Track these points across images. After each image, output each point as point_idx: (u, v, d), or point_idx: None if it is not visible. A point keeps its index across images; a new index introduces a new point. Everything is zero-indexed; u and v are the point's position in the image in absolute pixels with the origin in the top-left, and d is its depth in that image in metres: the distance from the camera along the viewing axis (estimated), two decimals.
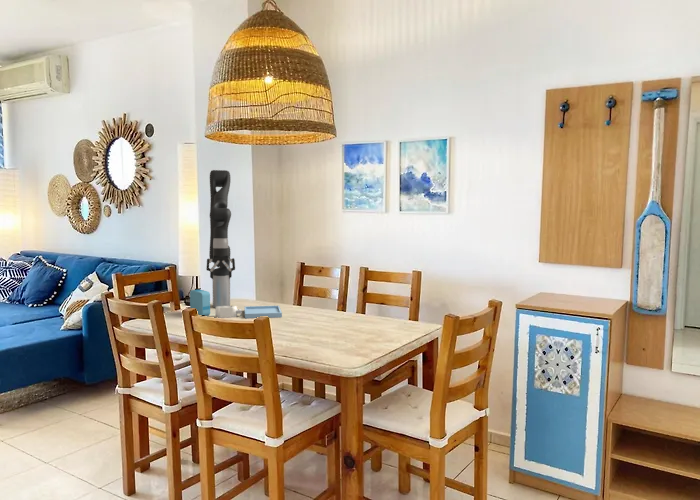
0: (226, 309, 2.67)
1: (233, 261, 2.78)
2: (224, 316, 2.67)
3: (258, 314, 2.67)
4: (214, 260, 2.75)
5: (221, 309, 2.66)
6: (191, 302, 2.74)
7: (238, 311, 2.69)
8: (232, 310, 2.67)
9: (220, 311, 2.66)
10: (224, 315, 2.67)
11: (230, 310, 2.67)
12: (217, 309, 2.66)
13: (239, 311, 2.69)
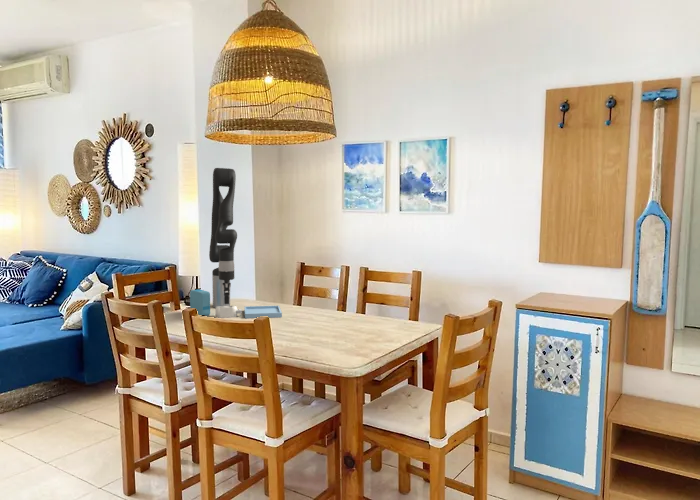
0: (226, 309, 2.67)
1: None
2: (224, 316, 2.67)
3: (258, 314, 2.67)
4: (228, 284, 2.64)
5: (221, 309, 2.66)
6: (191, 302, 2.74)
7: (238, 311, 2.69)
8: (232, 310, 2.67)
9: (220, 311, 2.66)
10: (224, 315, 2.67)
11: (230, 310, 2.67)
12: (217, 309, 2.66)
13: (239, 311, 2.69)
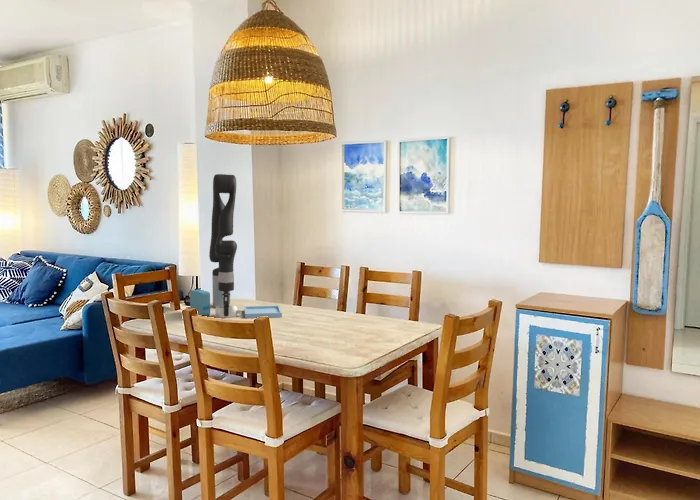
0: None
1: None
2: (224, 316, 2.67)
3: (258, 314, 2.67)
4: (228, 295, 2.65)
5: (221, 309, 2.66)
6: (191, 302, 2.74)
7: (238, 311, 2.69)
8: (232, 310, 2.67)
9: (220, 311, 2.66)
10: None
11: (230, 309, 2.67)
12: (217, 309, 2.66)
13: (239, 311, 2.69)
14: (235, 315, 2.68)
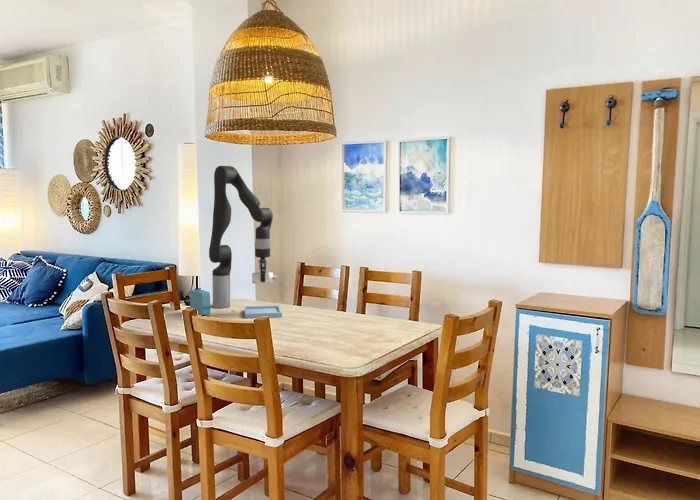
0: None
1: None
2: (261, 282, 2.73)
3: (258, 314, 2.67)
4: (265, 261, 2.71)
5: (258, 275, 2.72)
6: (191, 302, 2.74)
7: (274, 277, 2.75)
8: (268, 276, 2.73)
9: (257, 277, 2.72)
10: None
11: (266, 275, 2.73)
12: (254, 275, 2.72)
13: (275, 277, 2.75)
14: (271, 281, 2.74)
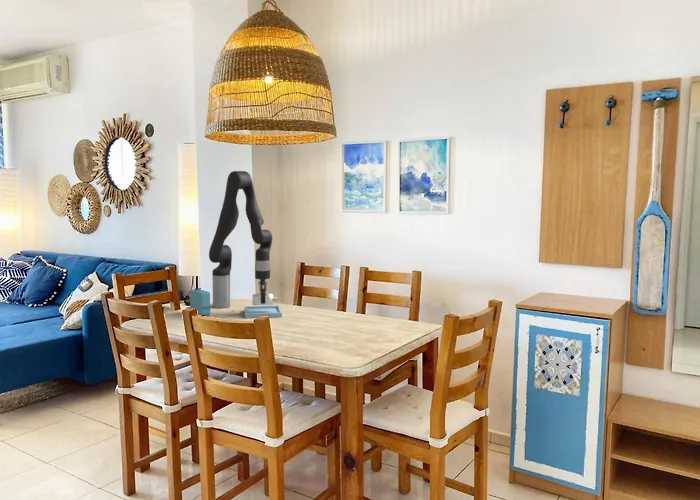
0: None
1: None
2: None
3: (258, 314, 2.67)
4: (265, 283, 2.72)
5: (258, 297, 2.73)
6: (191, 302, 2.74)
7: (274, 299, 2.75)
8: (269, 298, 2.74)
9: (257, 299, 2.73)
10: None
11: (266, 297, 2.74)
12: (254, 297, 2.73)
13: (275, 299, 2.76)
14: (271, 303, 2.75)
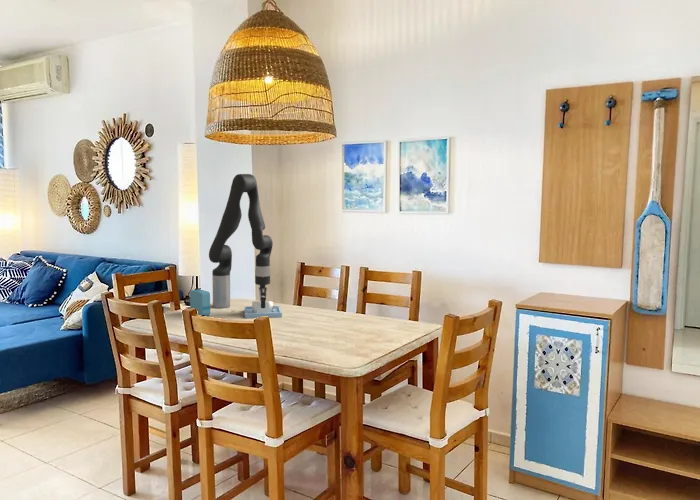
0: None
1: None
2: (261, 311, 2.74)
3: (258, 314, 2.67)
4: None
5: (258, 304, 2.74)
6: (191, 302, 2.74)
7: (274, 306, 2.76)
8: (268, 305, 2.75)
9: (257, 306, 2.74)
10: (261, 310, 2.74)
11: (266, 305, 2.74)
12: (254, 304, 2.74)
13: (275, 306, 2.76)
14: (271, 310, 2.76)
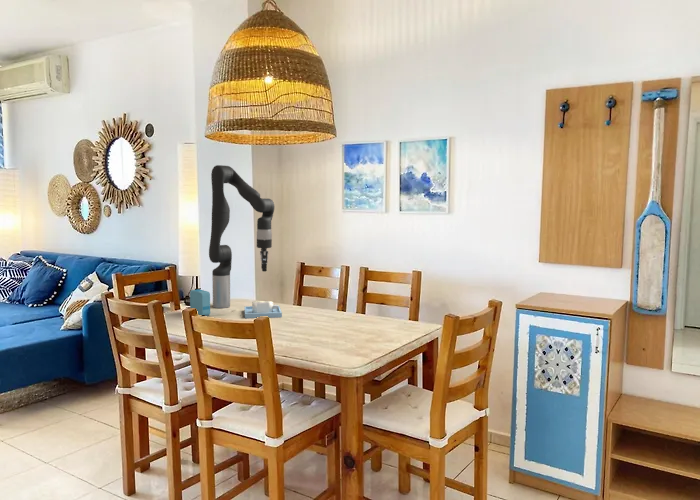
0: (263, 304, 2.74)
1: None
2: (261, 311, 2.74)
3: (258, 314, 2.67)
4: (266, 252, 2.71)
5: (258, 304, 2.74)
6: (191, 302, 2.74)
7: (274, 306, 2.76)
8: (268, 305, 2.75)
9: (257, 306, 2.74)
10: (261, 310, 2.74)
11: (266, 305, 2.74)
12: (254, 304, 2.74)
13: (275, 306, 2.76)
14: (271, 310, 2.76)
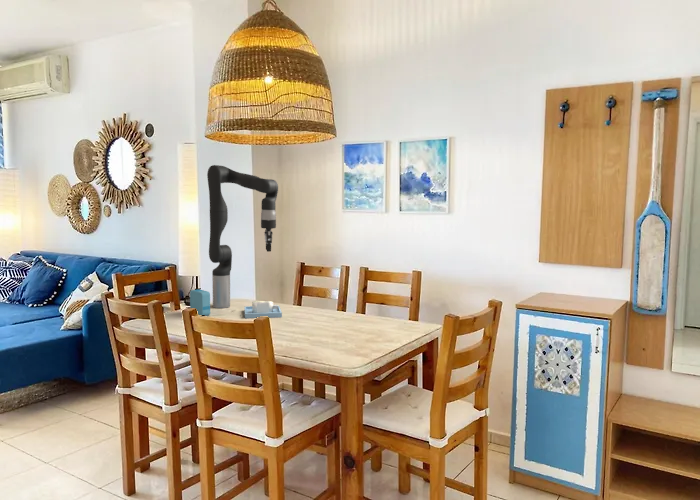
0: (263, 304, 2.74)
1: None
2: (261, 311, 2.74)
3: (258, 314, 2.67)
4: None
5: (258, 304, 2.74)
6: (191, 302, 2.74)
7: (274, 306, 2.76)
8: (268, 305, 2.75)
9: (257, 306, 2.74)
10: (261, 310, 2.74)
11: (266, 305, 2.74)
12: (254, 304, 2.74)
13: (275, 306, 2.76)
14: (271, 310, 2.76)
